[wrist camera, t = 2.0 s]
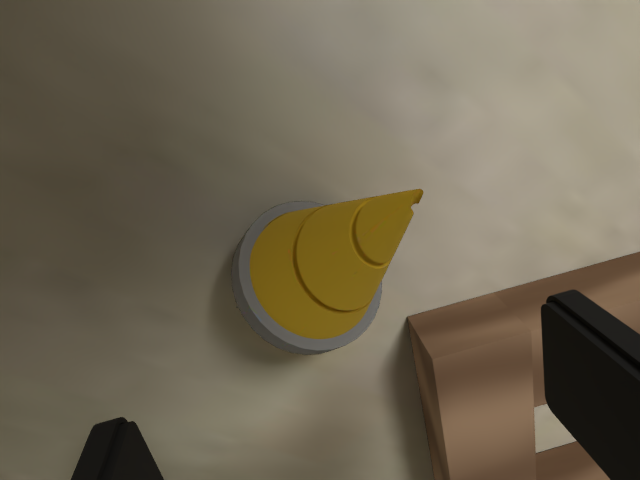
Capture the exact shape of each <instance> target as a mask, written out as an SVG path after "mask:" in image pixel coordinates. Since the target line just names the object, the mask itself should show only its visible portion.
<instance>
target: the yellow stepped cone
mask: <svg viewBox="0 0 640 480" xmlns="http://www.w3.org/2000/svg"><path fill="white" fill-rule="evenodd" d="M422 195H423V190H421V189H416V190H409V191H404V192H398V193H392V194H387V195H381V196H376V197H370V198H364V199H359V200H353V201H348V202H342V203H337V204H331V205H322V204H318V203H314V202H305V201H296V202H288V203H284V204H281V205H278V206H275V207H273V208H271V209H270V210H268V211H266V212H265V213H263V214H262V215H261V216H260V217H259V218H258V219H257V220H256V221H255V222H254V223H253V224H252V225H251V227H250V228H249V229H248V231H247V232H246V233H245V235H244V237H243V238H242V240H241V241H240V243H239V244H238V247H237V249H236V252H235V255H234V257H233V264H232V270H231V276H232V288H233V292H234V296H235V300H236V303H237V308H239V309H240V311H241V313H242V315H243V317H244V318H245V320H246V321H247V322H248V324H249V325H250V326H251V328H252V329H253V330H254V331H255V332H256V333H257V334H258V335H260V336H261V337H262V338H263V339H264V340H266V341H267V342H269V343H270V344H272V345H274V346H275V347H277V348H279V349H282V350H285V351H288V352H290V353H296V354H303V355H312V354H321V353H324V352H328V351H331V350H334V349H337V348H339V347H342V346H345V345H346V344H348V343H350V342H352V341H353V340H355V339H357V338H358V337H359V336H360V335H361V334H362V333H363V332H364V331H365V330H366V329H367V328H368V327H369V325H370V324H371V322H372V321H373V319H374V317H375V315H376V312H377V310H378V308H379V304H380V299H381V294H382V278H383V276H384V274H385V272H386V270H387V268H388V266H389V264H390V262H391V260H392V257H393V256H394V253H395V251H396V249H397V247H398V245H399V243H400V241H401V239H402V237H403V235H404V233H405V231H406V229H407V227H408V224H409V222H410V220H411V218H412V216H413V214H414V213H413V211H412V209H411V206H412V205H413V204H415V203H417V204H418V203H419V202H420V199H421V197H422Z"/></svg>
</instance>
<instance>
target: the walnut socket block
mask: <svg viewBox="0 0 640 480" xmlns="http://www.w3.org/2000/svg"><path fill="white" fill-rule="evenodd" d="M572 289H573V290H577V291H579V292H580V293H582V294H583V295H585V296H586V297H588V298H589V299H590V300H592V301H593V302H595V303H596V304H597V305H599V306H600V307H602V308H603V309H605V310H606V311H607V312H609V313H610V314H612V315H613V316H615V317H616V318H617V319H619V320H620V321H622V322H623V323H624V324H626V325H627V326H629V327H630V328H632V329H633V330H634V331H636V332H637V333H639V334H640V252H638V253H634V254H630V255H627V256H623V257H620V258H616V259H612V260H609V261H605V262H602V263H598V264H595V265H591V266H587V267H584V268H580V269H577V270H573V271H569V272H566V273H562V274H559V275H555V276H552V277H548V278H544V279H541V280H537V281H534V282H530V283H526V284H523V285H519V286H516V287H512V288H509V289H505V290H501V291H498V292H494V293H491V294H487V295H483V296H480V297H476V298H473V299H469V300H466V301H462V302H458V303H455V304H451V305H448V306H444V307H440V308H437V309H433V310H430V311H426V312H423V313H419V314H415V315H412V316H408V317H407V318H408V324H409V330H410V336H411V342H412V348H413V354H414V360H415V366H416V372H417V378H418V384H419V390H420V395H421V401H422V407H423V413H424V419H425V425H426V431H427V437H428V443H429V449H430V455H431V461H432V467H433V473H434V478H435V480H610V479H609V477H608V476H607V475H606V474H605V473H604V472H603V470H602V469H601V468H600V467H599V466H598V465H597V464H596V462H595V461H594V460H593V459H592V458H591V457H590V455H589V454H588V453H587V452H586V451H585V450H584V448H583V447H582V446H581V445H580V444H579V443H578V441H577V442H574V443H570V444H567V445H563V446H560V447H557V448H553V449H550V450H547V451H543V452H540V453H537V454H535V425H534V407H537V406H540V405H544V404H547V402H546V399H545V390H544V369H543V348H542V327H541V306H542V305H543V304H546V300H547V298H548V297H549V296H551V295H554V294H558V293H561V292H565V291H568V290H572Z"/></svg>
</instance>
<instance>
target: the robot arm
mask: <svg viewBox="0 0 640 480" xmlns="http://www.w3.org/2000/svg"><path fill="white" fill-rule="evenodd" d="M541 327H542V348H543V369H544V390H545V399H546V402H547V404H548V406H549V408H550V410H551V411H552V412H553V414H554V415H555V416H556V417H557V418H558V419H559V421H560V422H561V423H562V424H563V425H564V426H565V428H566V429H567V430H568V431H569V432H570V433H571V435H572V436H573V437H574V438H575V439H576V440H577V441H578V443H579V444H580V445H581V446H582V447H583V448H584V450H585V451H586V452H587V453H588V454H589V455H590V457H591V458H592V459H593V460H594V461H595V462H596V464H597V465H598V466H599V467H600V468H601V469H602V470H603V472H604V473H605V474H606V475H607V476H608V477H609V479H610V480H640V334H639V333H637V332H636V331H634V330H633V329H632V328H630V327H629V326H627V325H626V324H624V323H623V322H622V321H620V320H619V319H617V318H616V317H615V316H613V315H612V314H610V313H609V312H607V311H606V310H605V309H603V308H602V307H600V306H599V305H597V304H596V303H595V302H593V301H592V300H590V299H589V298H588V297H586V296H585V295H583V294H582V293H580V292H579V291H577V290H573V289H572V290H568V291H565V292H561V293H558V294H554V295H551V296H549V297H548V298H547V300H546V304H543V305H542V306H541ZM71 480H164V479H163V477H162V475H161V473H160V471H159V469H158V467H157V465H156V463H155V461H154V459H153V457H152V455H151V453H150V451H149V449H148V447H147V445H146V443H145V441H144V439H143V437H142V435H141V432H140V430H139V428H138V426H137V425H136V423H135V422H134V421H131V422H127V420H126V419H125V418H124V417H120V418H116V419H113V420H109V421H106V422H102V423H99V424H96V425H94V426H93V428H92V430H91V432H90V434H89V437H88V439H87V442H86V444H85V447H84V449H83V451H82V454H81V456H80V459H79V461H78V464H77V466H76V469H75V471H74V473H73V476H72V478H71Z"/></svg>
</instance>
